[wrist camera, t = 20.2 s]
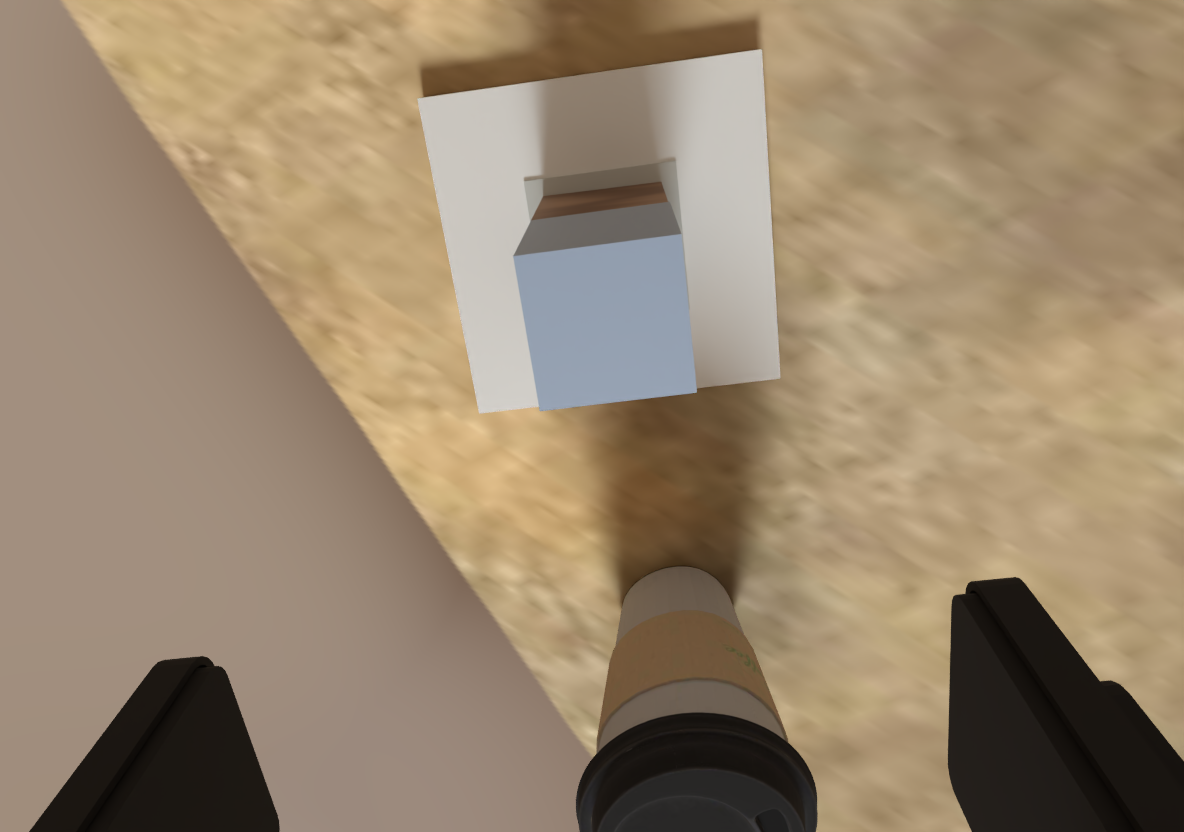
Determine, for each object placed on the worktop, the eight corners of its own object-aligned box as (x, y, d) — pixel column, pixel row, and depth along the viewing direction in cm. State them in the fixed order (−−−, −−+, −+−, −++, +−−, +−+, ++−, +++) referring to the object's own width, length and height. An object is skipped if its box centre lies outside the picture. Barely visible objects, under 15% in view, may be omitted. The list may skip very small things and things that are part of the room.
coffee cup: (802, 605, 46) (882, 842, 32) (681, 713, 49) (706, 972, 35) (668, 501, 44) (692, 707, 30) (550, 620, 47) (522, 857, 33)
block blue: (670, 201, 31) (681, 233, 26) (683, 335, 33) (696, 392, 28) (531, 220, 32) (513, 256, 26) (552, 351, 34) (539, 411, 28)
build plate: (757, 49, 36) (762, 49, 35) (776, 369, 41) (781, 379, 40) (423, 97, 37) (416, 98, 36) (482, 404, 42) (478, 414, 41)
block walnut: (661, 181, 37) (669, 204, 31) (671, 297, 39) (681, 338, 33) (543, 196, 37) (530, 221, 32) (559, 310, 39) (549, 353, 34)
